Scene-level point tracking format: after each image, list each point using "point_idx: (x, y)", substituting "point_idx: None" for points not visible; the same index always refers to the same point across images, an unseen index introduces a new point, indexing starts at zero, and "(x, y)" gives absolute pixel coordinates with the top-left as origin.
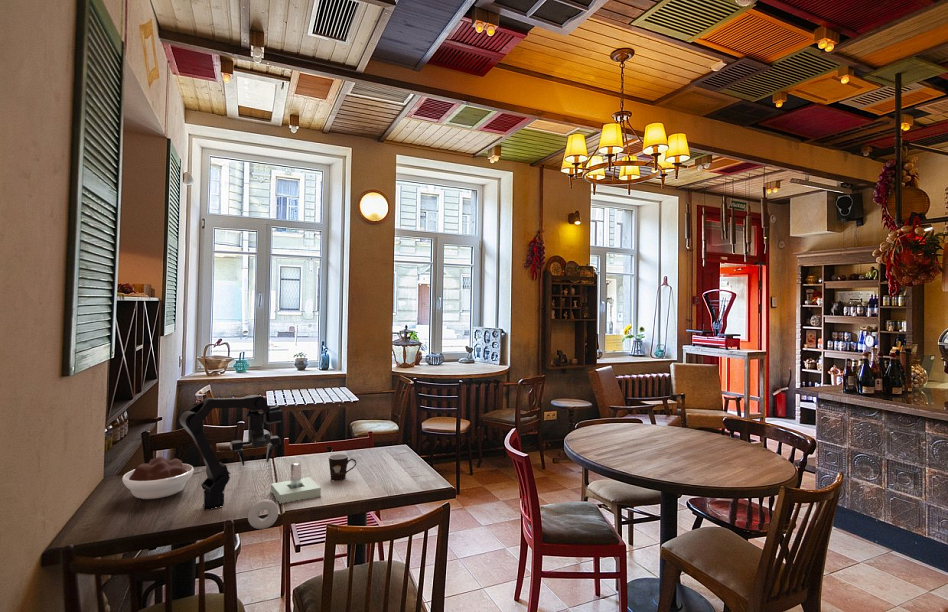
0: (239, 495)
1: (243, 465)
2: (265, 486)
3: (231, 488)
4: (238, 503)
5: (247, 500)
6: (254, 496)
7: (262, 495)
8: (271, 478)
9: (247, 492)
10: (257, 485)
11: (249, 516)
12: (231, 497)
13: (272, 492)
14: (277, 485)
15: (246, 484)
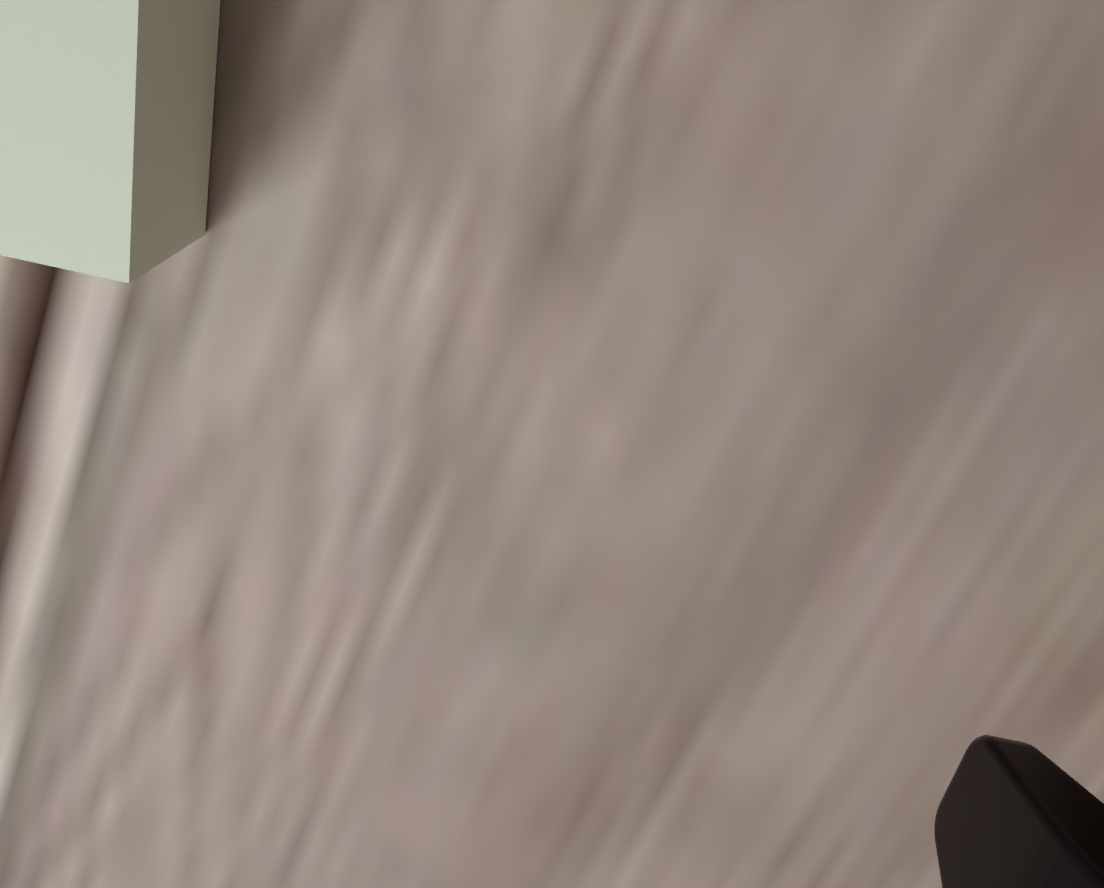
0: (742, 478)
1: (1021, 746)
2: (200, 598)
3: (674, 856)
4: (999, 32)
5: (774, 82)
6: (561, 221)
7: (413, 161)
8: (10, 862)
9: (566, 527)
10: (297, 725)
11: None
12: (895, 477)
13: (203, 97)
14: (24, 19)
15: (422, 867)
